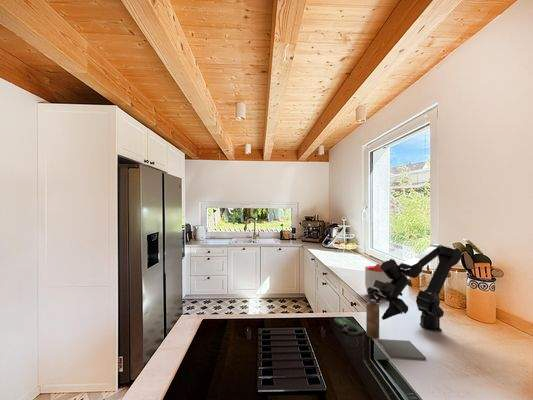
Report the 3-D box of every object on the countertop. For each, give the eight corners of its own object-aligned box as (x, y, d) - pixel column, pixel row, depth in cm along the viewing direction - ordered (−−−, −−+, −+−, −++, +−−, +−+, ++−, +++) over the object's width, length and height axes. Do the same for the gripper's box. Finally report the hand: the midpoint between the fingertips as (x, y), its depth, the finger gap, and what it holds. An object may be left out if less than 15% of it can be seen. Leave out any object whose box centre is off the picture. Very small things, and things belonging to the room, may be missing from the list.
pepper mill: (376, 333, 111) (376, 298, 111) (381, 338, 106) (381, 302, 106) (364, 332, 111) (364, 298, 111) (368, 338, 106) (368, 302, 106)
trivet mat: (409, 342, 103) (409, 340, 103) (426, 360, 91) (426, 357, 91) (378, 341, 104) (378, 339, 104) (390, 358, 92) (390, 355, 92)
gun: (326, 318, 122) (345, 316, 125) (326, 321, 122) (345, 319, 125) (348, 334, 107) (368, 331, 110) (348, 338, 107) (368, 335, 110)
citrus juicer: (394, 295, 163) (394, 262, 164) (390, 303, 148) (390, 267, 149) (368, 290, 171) (368, 259, 172) (362, 297, 157) (362, 263, 158)
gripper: (370, 268, 120) (349, 294, 116) (402, 279, 102) (379, 310, 98) (384, 285, 122) (364, 311, 118) (418, 298, 104) (395, 329, 100)
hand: (374, 314), depth 109 cm, fingers open, 9 cm apart
